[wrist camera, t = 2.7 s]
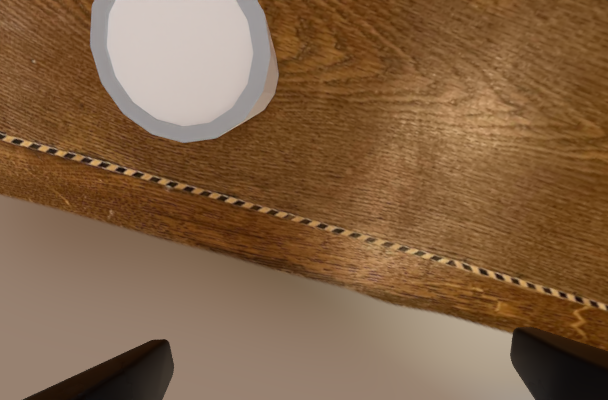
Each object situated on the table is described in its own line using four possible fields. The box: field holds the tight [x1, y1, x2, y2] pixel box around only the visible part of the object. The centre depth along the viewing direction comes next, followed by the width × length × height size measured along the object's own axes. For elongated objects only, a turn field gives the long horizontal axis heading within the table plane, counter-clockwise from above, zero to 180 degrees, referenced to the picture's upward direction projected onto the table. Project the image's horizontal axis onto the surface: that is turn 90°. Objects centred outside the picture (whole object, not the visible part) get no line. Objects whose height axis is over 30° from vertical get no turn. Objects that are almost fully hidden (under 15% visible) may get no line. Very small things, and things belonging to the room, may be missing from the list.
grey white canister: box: [90, 0, 279, 143], centre depth 15 cm, size 7×7×7 cm
